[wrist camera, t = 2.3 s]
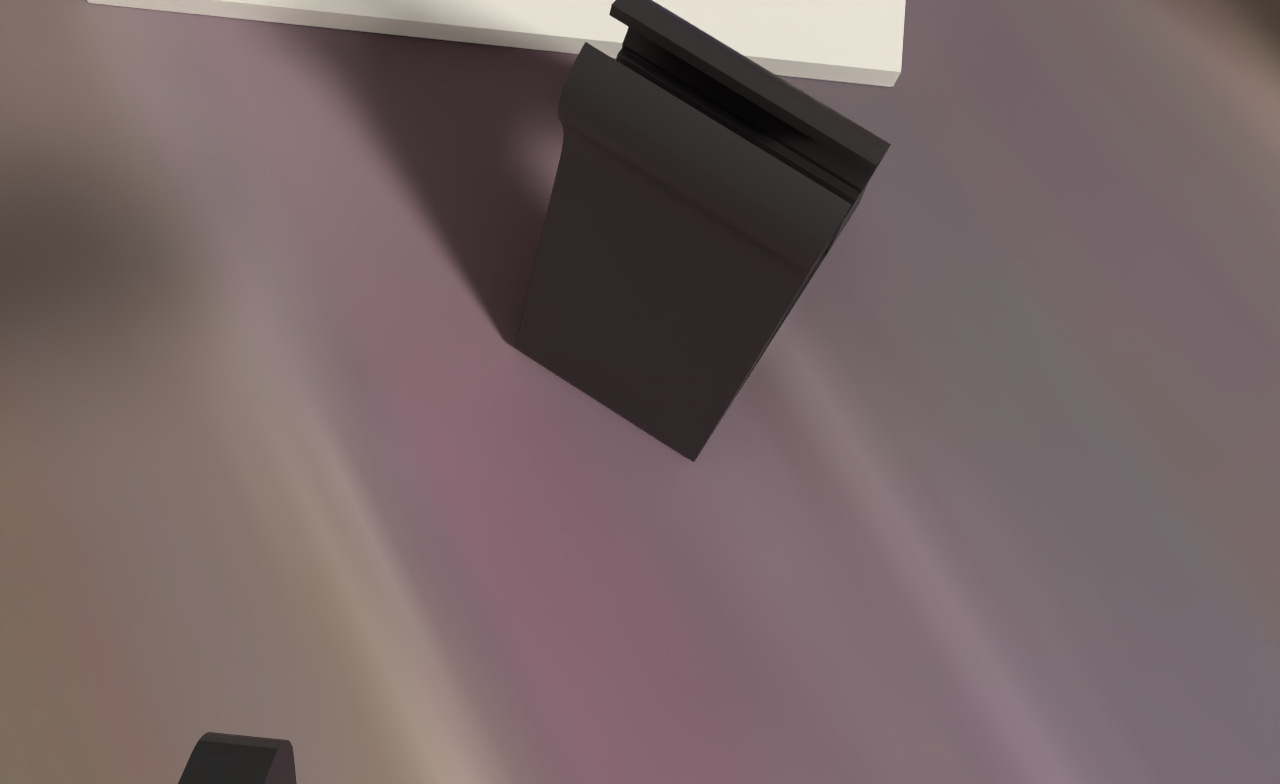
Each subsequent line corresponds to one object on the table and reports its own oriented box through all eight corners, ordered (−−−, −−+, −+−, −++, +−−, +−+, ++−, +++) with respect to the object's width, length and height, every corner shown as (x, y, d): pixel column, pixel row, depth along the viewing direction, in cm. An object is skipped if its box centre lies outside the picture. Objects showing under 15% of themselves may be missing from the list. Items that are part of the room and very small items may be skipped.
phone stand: (685, 101, 35) (723, -154, 24) (858, 208, 35) (984, 2, 23) (514, 349, 34) (463, 208, 22) (692, 464, 34) (737, 383, 22)
